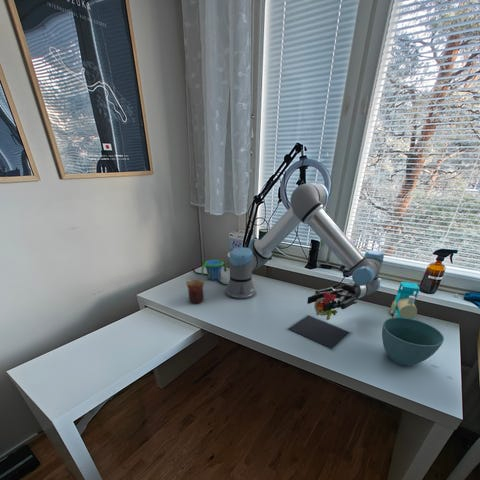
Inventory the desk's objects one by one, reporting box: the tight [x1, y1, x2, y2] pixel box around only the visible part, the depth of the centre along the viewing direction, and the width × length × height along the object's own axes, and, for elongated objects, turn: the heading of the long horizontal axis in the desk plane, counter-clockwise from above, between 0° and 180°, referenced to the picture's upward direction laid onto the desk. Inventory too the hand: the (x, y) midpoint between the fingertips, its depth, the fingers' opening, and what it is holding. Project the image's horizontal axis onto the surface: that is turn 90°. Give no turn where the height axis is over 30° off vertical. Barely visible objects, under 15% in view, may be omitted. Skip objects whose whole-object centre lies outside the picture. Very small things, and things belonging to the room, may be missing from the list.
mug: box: [185, 278, 205, 305], centre depth 135 cm, size 12×9×10 cm
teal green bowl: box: [381, 317, 445, 366], centre depth 95 cm, size 18×18×12 cm
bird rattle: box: [313, 292, 338, 321], centre depth 106 cm, size 6×11×9 cm
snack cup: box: [200, 259, 227, 281], centre depth 160 cm, size 16×10×10 cm
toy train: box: [390, 281, 420, 320], centre depth 119 cm, size 8×17×15 cm, turn 160°
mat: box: [288, 315, 350, 350], centre depth 113 cm, size 20×16×1 cm
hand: (316, 304), depth 103 cm, fingers closed on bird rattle, 7 cm apart
